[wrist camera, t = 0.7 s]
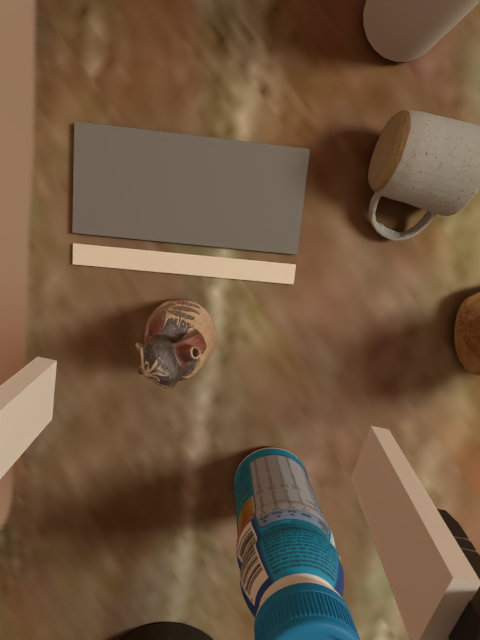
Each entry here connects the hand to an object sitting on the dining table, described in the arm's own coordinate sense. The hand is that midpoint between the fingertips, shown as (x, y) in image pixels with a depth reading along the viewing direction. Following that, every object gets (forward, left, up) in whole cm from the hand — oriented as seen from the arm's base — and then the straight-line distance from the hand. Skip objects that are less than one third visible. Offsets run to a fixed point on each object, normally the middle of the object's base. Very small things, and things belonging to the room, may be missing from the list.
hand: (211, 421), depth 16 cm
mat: (+12, +3, -24) cm, 27 cm away
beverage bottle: (-18, -8, -24) cm, 31 cm away
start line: (+5, +3, -24) cm, 25 cm away
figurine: (-2, +3, -24) cm, 25 cm away
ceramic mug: (+15, -18, -24) cm, 34 cm away
